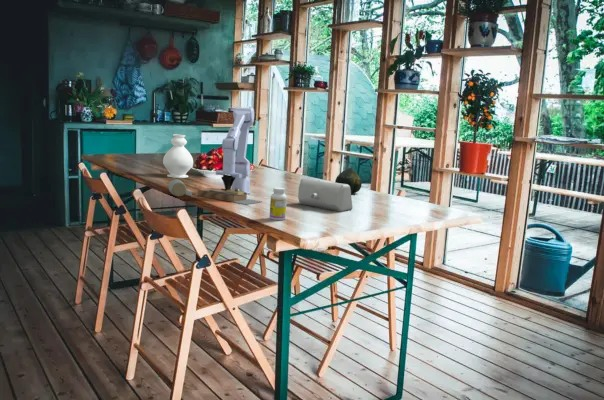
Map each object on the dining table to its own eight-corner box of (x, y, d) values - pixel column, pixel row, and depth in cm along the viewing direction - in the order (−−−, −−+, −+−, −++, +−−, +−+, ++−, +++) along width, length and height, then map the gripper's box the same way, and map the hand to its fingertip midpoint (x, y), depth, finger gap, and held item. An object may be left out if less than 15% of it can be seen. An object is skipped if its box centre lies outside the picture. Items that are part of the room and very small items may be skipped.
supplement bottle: (269, 216, 235) (270, 186, 233) (284, 217, 236) (286, 187, 234) (269, 220, 229) (271, 189, 227) (285, 221, 230) (287, 189, 227)
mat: (248, 199, 274) (248, 199, 274) (261, 202, 270) (261, 201, 270) (233, 202, 264) (233, 201, 264) (246, 204, 260) (246, 204, 260)
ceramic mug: (171, 197, 267) (172, 181, 265) (167, 194, 274) (168, 178, 273) (193, 197, 271) (194, 181, 270) (189, 194, 278) (190, 179, 277)
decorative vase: (157, 174, 340) (158, 133, 336) (182, 174, 352) (184, 133, 348) (172, 179, 327) (173, 135, 323) (198, 177, 339) (199, 136, 335)
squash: (338, 185, 307) (356, 165, 310) (326, 182, 320) (343, 163, 323) (354, 202, 312) (371, 182, 315) (342, 198, 326) (358, 179, 329)
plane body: (198, 195, 276) (198, 188, 275) (211, 193, 284) (211, 186, 284) (233, 202, 265) (234, 194, 264) (246, 199, 273) (246, 192, 273)
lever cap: (226, 193, 270) (226, 187, 270) (232, 192, 274) (232, 187, 274) (237, 195, 266) (237, 189, 266) (244, 194, 271) (244, 188, 270)
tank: (290, 205, 267) (291, 179, 265) (309, 202, 280) (311, 177, 278) (334, 214, 253) (336, 186, 251) (352, 210, 266) (354, 184, 264)
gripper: (212, 161, 270) (210, 189, 273) (235, 165, 263) (234, 193, 265) (221, 161, 276) (220, 188, 279) (245, 164, 269) (243, 192, 271)
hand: (227, 191), depth 272 cm, fingers closed
